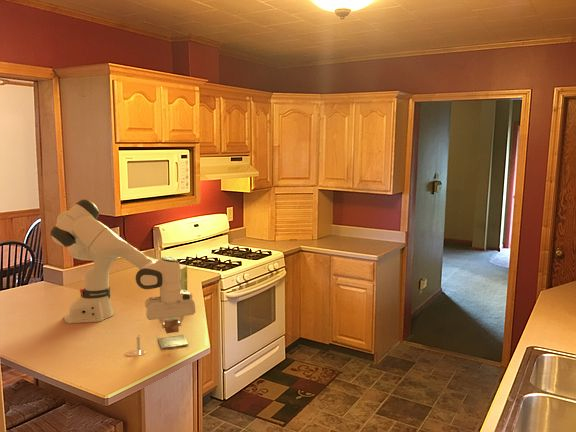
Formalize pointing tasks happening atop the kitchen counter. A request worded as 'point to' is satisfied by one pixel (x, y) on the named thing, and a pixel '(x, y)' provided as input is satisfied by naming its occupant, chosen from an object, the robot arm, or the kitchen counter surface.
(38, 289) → the kitchen counter surface
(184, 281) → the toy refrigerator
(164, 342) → the trivet
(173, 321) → the cube
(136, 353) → the unidentifiable
